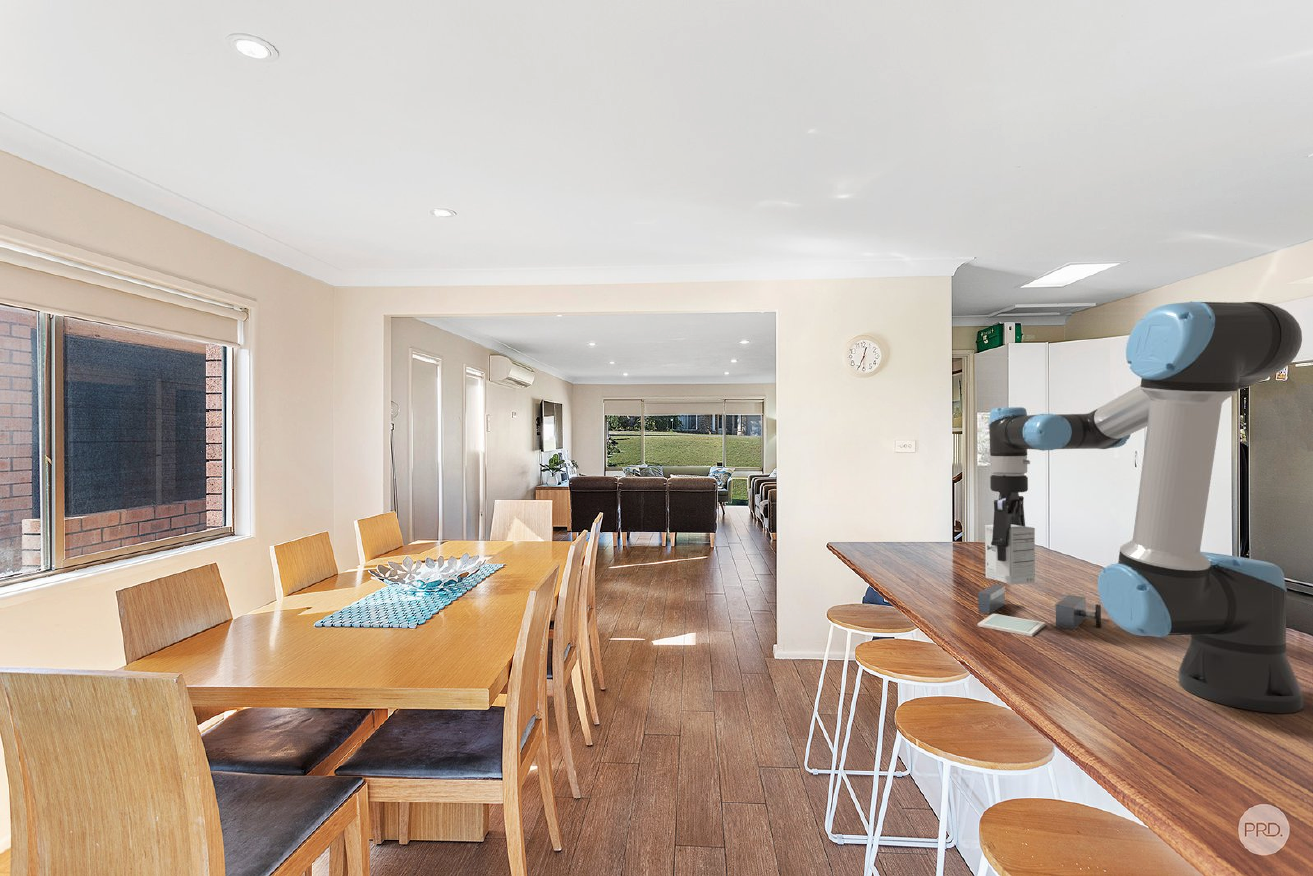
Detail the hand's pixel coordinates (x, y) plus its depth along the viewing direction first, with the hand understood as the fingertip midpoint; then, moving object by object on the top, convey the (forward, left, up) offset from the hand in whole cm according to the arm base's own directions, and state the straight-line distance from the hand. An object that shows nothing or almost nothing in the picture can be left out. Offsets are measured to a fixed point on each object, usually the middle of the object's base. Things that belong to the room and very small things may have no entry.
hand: (1010, 571), depth 142 cm
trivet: (0, 0, -13) cm, 13 cm away
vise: (+12, -3, -13) cm, 18 cm away
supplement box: (0, 0, -2) cm, 2 cm away
